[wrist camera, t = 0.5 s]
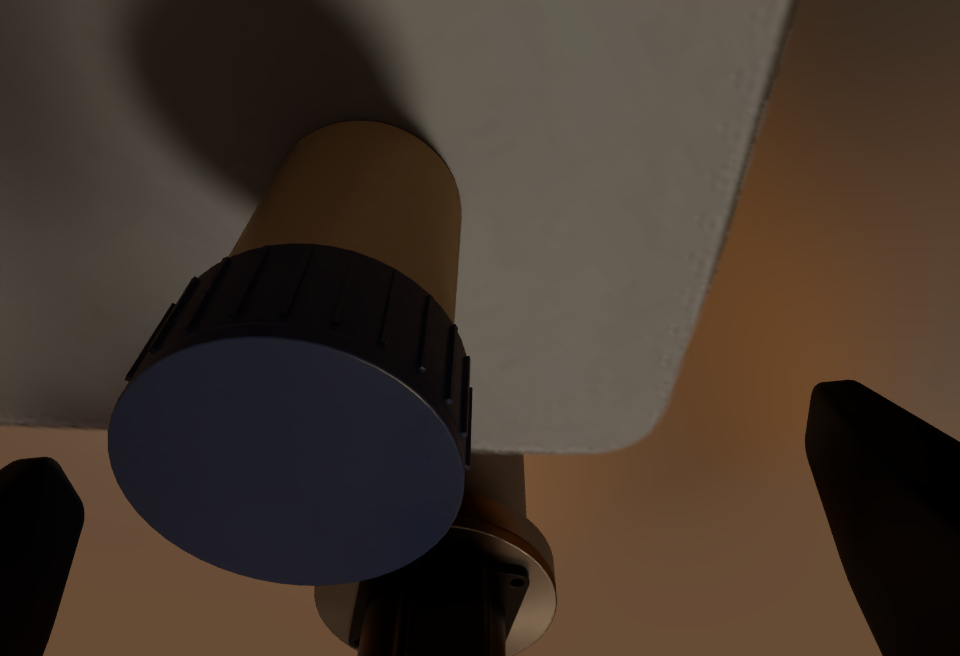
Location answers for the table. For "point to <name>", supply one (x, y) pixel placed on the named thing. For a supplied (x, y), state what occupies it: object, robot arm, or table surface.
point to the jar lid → (298, 418)
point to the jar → (367, 203)
